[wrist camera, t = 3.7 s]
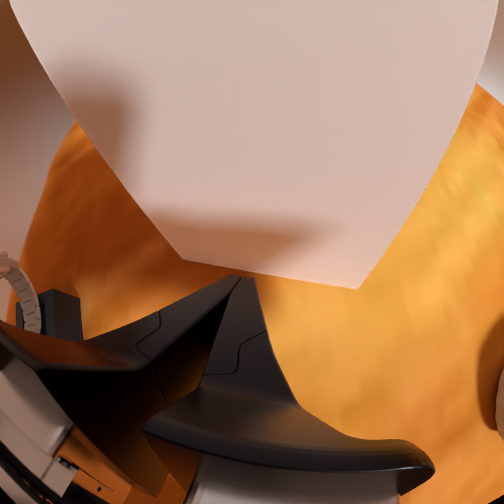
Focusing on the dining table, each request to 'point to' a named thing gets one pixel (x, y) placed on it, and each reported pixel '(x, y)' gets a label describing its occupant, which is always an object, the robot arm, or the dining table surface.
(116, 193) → the dining table surface
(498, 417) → the sea urchin shell
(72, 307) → the watch
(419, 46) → the milk
